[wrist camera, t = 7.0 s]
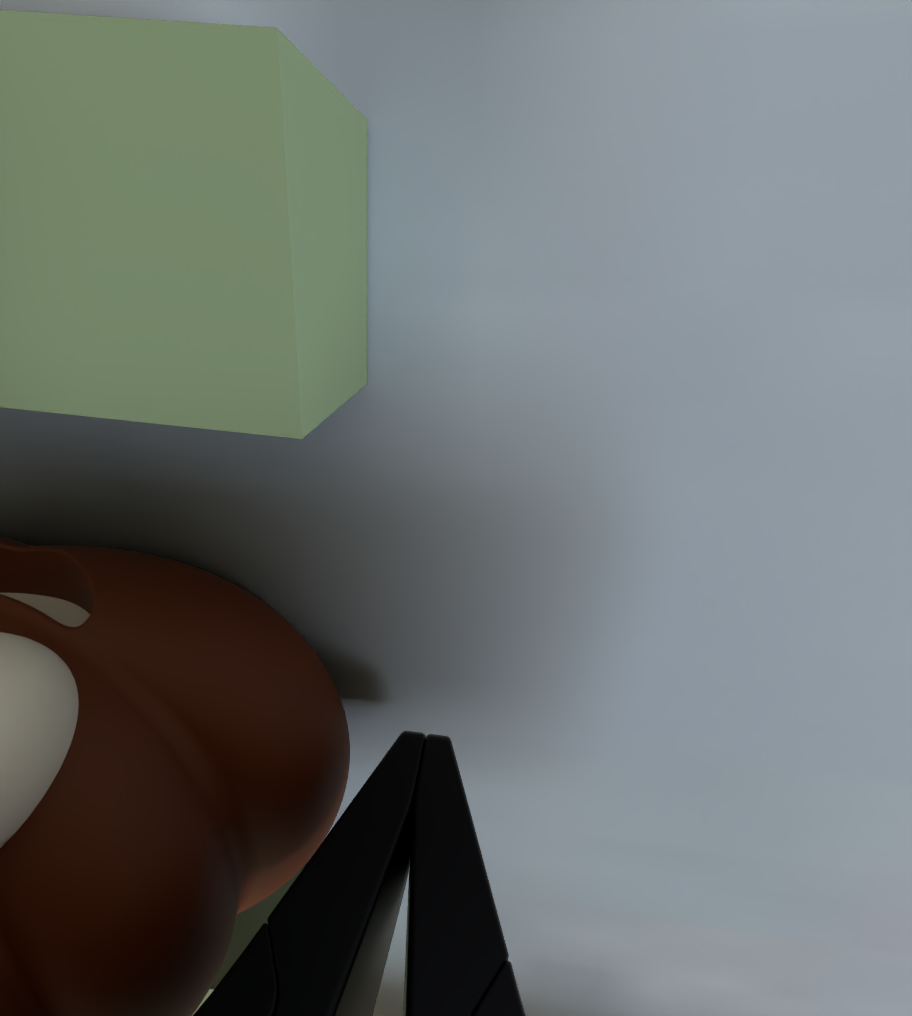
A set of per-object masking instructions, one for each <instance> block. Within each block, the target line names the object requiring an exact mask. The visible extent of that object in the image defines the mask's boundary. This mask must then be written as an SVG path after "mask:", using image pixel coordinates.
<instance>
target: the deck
mask: <svg viewBox="0 0 912 1016" xmlns="http://www.w3.org/2000/svg"><path fill="white" fill-rule="evenodd" d="M366 384H367V119H366V118H365V117H364V116H363V115H362V114H361V113H360V112H359V111H358V110H357V109H356V108H355V107H354V106H353V104H352V103H351V102H350V101H349V100H348V99H347V98H346V97H345V96H344V95H343V94H342V93H341V92H340V91H339V90H338V89H337V88H336V87H335V86H334V85H333V84H332V83H331V82H330V81H329V80H328V79H327V78H326V77H325V76H324V75H323V74H322V73H321V72H320V71H319V70H318V69H317V68H316V67H315V66H314V65H313V64H312V63H311V62H310V61H309V60H308V59H307V58H306V57H305V56H304V55H303V54H302V53H301V51H300V50H299V49H298V48H297V47H296V46H295V45H294V44H293V43H292V42H291V41H290V40H289V39H288V38H287V37H286V36H285V35H284V34H283V33H282V32H281V31H280V30H279V29H278V28H274V27H258V26H243V25H227V24H211V23H196V22H180V21H165V20H149V19H133V18H118V17H102V16H87V15H71V14H55V13H40V12H24V11H9V10H0V407H2V408H12V409H21V410H31V411H40V412H50V413H59V414H69V415H78V416H88V417H97V418H107V419H116V420H126V421H135V422H145V423H154V424H163V425H173V426H182V427H192V428H201V429H211V430H220V431H230V432H239V433H249V434H258V435H268V436H277V437H287V438H296V439H303V438H304V437H305V436H306V435H308V434H309V433H310V432H311V431H312V430H313V429H315V428H316V427H317V426H318V425H319V424H320V423H322V422H323V421H324V420H325V419H326V418H327V417H329V416H330V415H331V414H332V413H333V412H335V411H336V410H337V409H338V408H339V407H340V406H342V405H343V404H344V403H345V402H346V401H347V400H349V399H350V398H351V397H352V396H353V395H354V394H356V393H357V392H358V391H359V390H360V389H362V388H363V387H364V386H365V385H366ZM305 866H306V865H304V866H303V867H302V868H301V869H300V870H299V871H298V872H297V873H296V874H295V875H294V876H293V877H292V878H291V879H290V880H289V881H288V882H287V883H285V884H284V885H283V886H282V887H280V888H279V889H278V890H277V891H275V892H274V893H272V894H271V895H270V896H268V897H267V898H265V899H264V900H262V901H260V902H259V903H257V904H255V905H254V906H252V907H250V908H248V909H247V910H245V911H243V912H241V913H239V914H237V916H236V921H235V926H234V930H233V934H232V938H231V941H230V944H229V947H228V950H227V953H226V956H225V958H224V961H223V963H222V965H221V968H220V970H219V972H218V974H217V976H216V978H215V980H214V982H213V984H212V986H211V988H210V989H209V991H208V993H207V994H206V996H205V998H204V999H203V1001H202V1002H201V1004H200V1005H199V1007H200V1006H201V1005H202V1004H203V1002H204V1001H205V1000H206V999H207V998H208V996H209V995H210V994H211V993H212V992H213V990H214V989H215V988H216V986H217V985H218V984H219V982H220V981H221V980H222V978H223V977H224V976H225V974H226V973H227V972H228V971H229V969H230V968H231V967H232V965H233V964H234V963H235V961H236V960H237V959H238V957H239V956H240V955H241V953H242V952H243V951H244V949H245V948H246V947H247V945H248V944H249V942H250V941H251V940H252V938H253V937H254V936H255V934H256V933H257V931H258V930H259V929H260V927H261V926H262V925H263V924H264V923H267V924H268V921H267V919H268V917H269V915H270V914H271V913H272V911H273V910H274V908H275V907H276V906H277V904H278V903H279V901H280V900H281V899H282V897H283V896H284V895H285V893H286V892H287V890H288V889H289V888H290V886H291V885H292V883H293V882H294V881H295V879H296V878H297V877H298V875H299V874H300V872H301V871H302V870H303V868H304V867H305ZM199 1007H198V1008H199ZM198 1008H197V1010H198ZM197 1010H196V1011H197ZM196 1011H195V1012H196ZM195 1012H194V1013H195ZM192 1016H193V1015H192Z"/></svg>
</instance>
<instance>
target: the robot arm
mask: <svg viewBox="0 0 912 1016" xmlns="http://www.w3.org/2000/svg"><path fill="white" fill-rule="evenodd" d="M409 867H410V870H409ZM408 872H409V888H408V910H407V934H406V958H405V981H404V1005H403V1016H526V1015H525V1012H524V1008H523V1005H522V1002H521V998H520V995H519V991H518V987H517V984H516V980H515V976H514V972H513V969H512V965H511V963H510V962H509V961H508V957H509V955H508V951H507V947H506V944H505V940H504V936H503V932H502V929H501V925H500V921H499V917H498V914H497V910H496V906H495V903H494V899H493V895H492V891H491V888H490V884H489V880H488V876H487V873H486V869H485V865H484V861H483V858H482V854H481V850H480V847H479V843H478V839H477V835H476V832H475V828H474V824H473V820H472V817H471V813H470V809H469V805H468V802H467V798H466V794H465V791H464V787H463V783H462V779H461V776H460V772H459V768H458V764H457V761H456V757H455V753H454V749H453V746H452V742H451V740H450V738H449V737H448V736H442V735H434V734H429V735H428V736H427V737H426V736H425V734H423V733H419V732H412V731H404V732H402V733H401V734H400V736H399V737H398V738H397V740H396V741H395V742H394V744H393V745H392V747H391V748H390V749H389V751H388V752H387V754H386V755H385V756H384V758H383V759H382V760H381V762H380V763H379V765H378V766H377V767H376V769H375V770H374V772H373V773H372V774H371V776H370V777H369V778H368V780H367V781H366V783H365V784H364V785H363V787H362V788H361V789H360V791H359V792H358V794H357V795H356V796H355V798H354V799H353V801H352V802H351V803H350V805H349V806H348V807H347V809H346V810H345V812H344V813H343V814H342V816H341V817H340V819H339V820H338V821H337V823H336V824H335V825H334V827H333V828H332V830H331V831H330V832H329V834H328V835H327V836H326V838H325V839H324V841H323V842H322V843H321V845H320V846H319V848H318V849H317V850H316V852H315V853H314V854H313V856H312V857H311V859H310V860H309V861H308V863H307V864H306V866H305V867H304V868H303V870H302V871H301V872H300V874H299V875H298V877H297V878H296V879H295V881H294V882H293V883H292V885H291V886H290V888H289V889H288V890H287V892H286V893H285V895H284V896H283V897H282V899H281V900H280V901H279V903H278V904H277V906H276V907H275V908H274V910H273V911H272V913H271V914H270V915H269V917H268V919H267V921H268V924H267V923H264V924H263V925H262V926H261V927H260V929H259V930H258V931H257V933H256V934H255V936H254V937H253V938H252V940H251V941H250V942H249V944H248V945H247V947H246V948H245V949H244V951H243V952H242V953H241V955H240V956H239V957H238V959H237V960H236V961H235V963H234V964H233V965H232V967H231V968H230V969H229V971H228V972H227V973H226V974H225V976H224V977H223V978H222V980H221V981H220V982H219V984H218V985H217V986H216V988H215V989H214V990H213V992H212V993H211V994H210V995H209V996H208V998H207V999H206V1000H205V1001H204V1002H203V1004H202V1005H201V1006H200V1007H199V1008H198V1010H197V1011H196V1012H195V1013H194V1014H193V1016H372V1015H373V1011H374V1007H375V1003H376V999H377V995H378V991H379V988H380V984H381V980H382V976H383V972H384V968H385V964H386V960H387V956H388V952H389V949H390V945H391V941H392V937H393V933H394V929H395V925H396V921H397V917H398V914H399V910H400V906H401V902H402V898H403V894H404V890H405V886H406V881H407V877H408Z"/></svg>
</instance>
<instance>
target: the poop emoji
mask: <svg viewBox="0 0 912 1016" xmlns="http://www.w3.org/2000/svg"><path fill="white" fill-rule="evenodd" d="M349 762H350V742H349V732H348V725H347V720H346V716H345V712H344V708H343V705H342V702H341V699H340V696H339V694H338V691H337V689H336V687H335V684H334V682H333V680H332V678H331V676H330V674H329V673H328V671H327V669H326V667H325V666H324V664H323V663H322V661H321V660H320V658H319V657H318V655H317V654H316V652H315V651H314V650H313V648H312V647H311V646H310V645H309V644H308V642H307V641H306V640H305V639H304V638H303V636H302V635H301V634H300V633H299V632H298V631H297V630H296V629H295V628H294V627H293V626H292V625H291V624H290V623H289V622H288V621H287V620H285V619H284V618H283V617H282V616H281V615H280V614H279V613H277V612H276V611H275V610H273V609H272V608H271V607H270V606H268V605H267V604H265V603H264V602H263V601H261V600H260V599H258V598H257V597H255V596H254V595H252V594H251V593H249V592H247V591H245V590H244V589H242V588H240V587H239V586H237V585H235V584H233V583H231V582H229V581H227V580H225V579H223V578H221V577H219V576H216V575H214V574H212V573H209V572H207V571H204V570H202V569H199V568H196V567H194V566H191V565H188V564H185V563H181V562H178V561H175V560H171V559H167V558H163V557H159V556H155V555H150V554H146V553H141V552H135V551H129V550H122V549H114V548H104V547H91V546H30V545H28V544H25V543H22V542H19V541H15V540H12V539H8V538H4V537H0V1016H192V1015H193V1014H194V1012H195V1011H196V1010H197V1008H198V1007H199V1005H200V1004H201V1002H202V1001H203V999H204V998H205V996H206V994H207V993H208V991H209V989H210V988H211V986H212V984H213V982H214V980H215V978H216V976H217V974H218V972H219V970H220V968H221V965H222V963H223V961H224V958H225V956H226V953H227V950H228V947H229V944H230V941H231V938H232V934H233V930H234V926H235V921H236V916H237V914H239V913H241V912H243V911H245V910H247V909H248V908H250V907H252V906H254V905H255V904H257V903H259V902H260V901H262V900H264V899H265V898H267V897H268V896H270V895H271V894H272V893H274V892H275V891H277V890H278V889H279V888H280V887H282V886H283V885H284V884H285V883H287V882H288V881H289V880H290V879H291V878H292V877H293V876H294V875H295V874H296V873H297V872H298V871H299V870H300V869H301V868H302V867H303V866H304V865H305V864H306V863H307V862H308V860H309V859H310V858H311V857H312V856H313V854H314V853H315V852H316V850H317V849H318V848H319V846H320V845H321V843H322V842H323V840H324V839H325V837H326V835H327V834H328V832H329V830H330V828H331V826H332V824H333V822H334V820H335V818H336V816H337V813H338V811H339V808H340V805H341V802H342V799H343V796H344V792H345V788H346V784H347V779H348V772H349Z"/></svg>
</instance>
